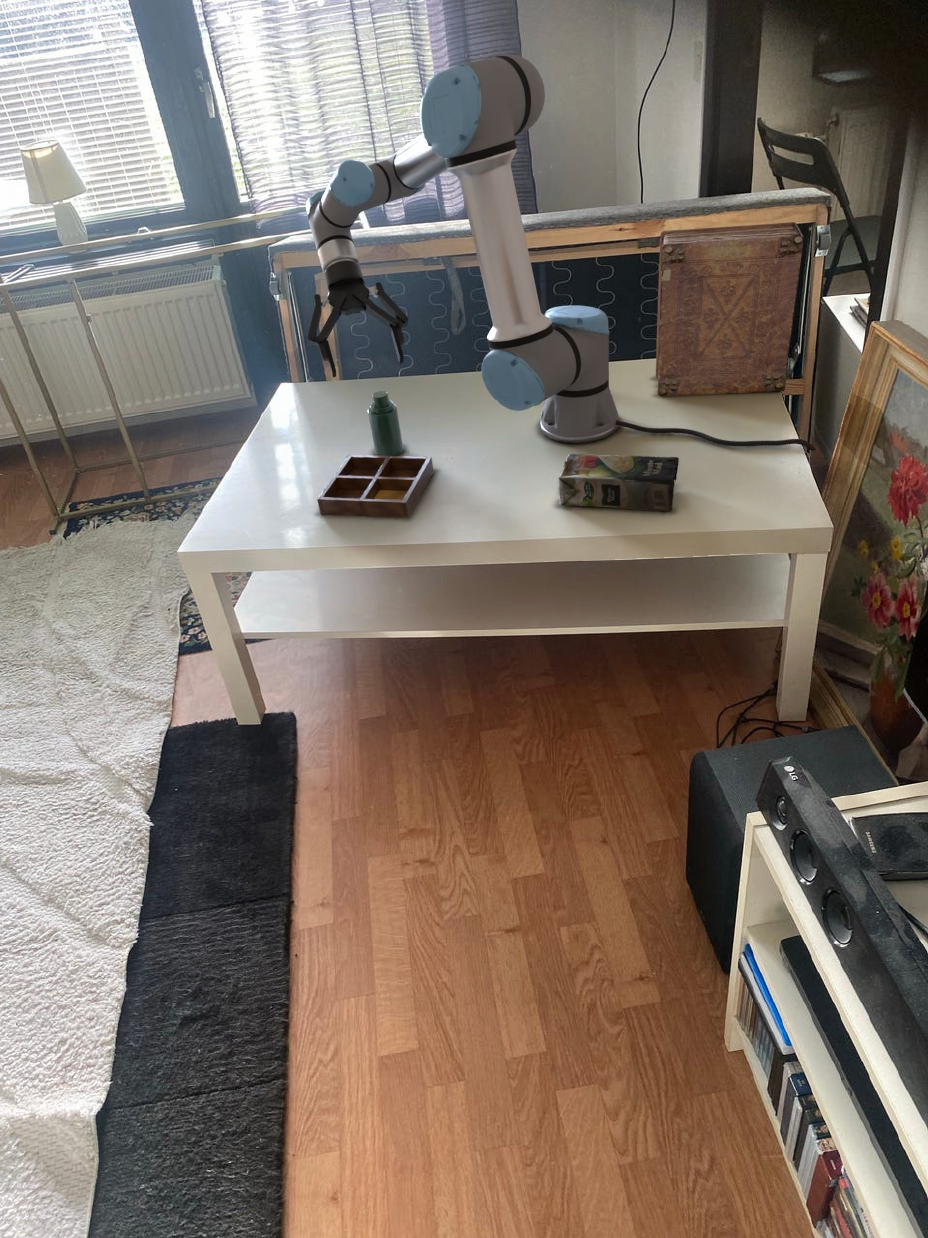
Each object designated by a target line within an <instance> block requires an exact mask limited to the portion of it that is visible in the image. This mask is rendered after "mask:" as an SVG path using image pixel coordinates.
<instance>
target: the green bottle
mask: <svg viewBox="0 0 928 1238" xmlns="http://www.w3.org/2000/svg"><path fill="white" fill-rule="evenodd" d="M371 397H372V402H371V403H370V405H369V408H368V409H367V414H368V420H369V426H370V430H371V436H372V442H373V448H374V453H375V456H400V455H401V454H402V453H403V452H404V444H403V439H402V438H403V437H402V432H401V425H400V424H401V423H400V419H399V411H398V406H397V405H396V404H395V403H394V402H393V401H392V400H391V399H389V392H387V391H385V390H378V391H375V392H373V393H372V394H371Z"/></svg>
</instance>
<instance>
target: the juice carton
mask: <svg viewBox="0 0 928 1238" xmlns="http://www.w3.org/2000/svg"><path fill="white" fill-rule="evenodd" d="M679 462H680V458H679V456H670V457H669V456H668V457H667V456H649V455H615V454H588V453H569V454H568V455H567V456H566V459H565V461H564V463H563V466H562V467H563V469H562V470H561V473H560V475H559V476H558V479H557V482H558V487H557V492H558V496H559V498H558V499H559V506H563V507H565V506H566V507H573V506H576V507H577V506H578V507H596V508H597V507H598V508H599V507H600V508H611V509H621V510H624V509H625V510H642V511H652V512H664V513H665V512H671V511H672V510H673V505H674V504H673V502H674V492H675V491H674V490H675V484H676V481H677V479H678V468H679Z"/></svg>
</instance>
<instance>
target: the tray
mask: <svg viewBox="0 0 928 1238" xmlns="http://www.w3.org/2000/svg"><path fill="white" fill-rule="evenodd" d="M433 474H434V464H433V458H432V456H405V455H403V456H401V455H397V456H377V455H367V454H364V455H361V454H348V455H347V456H346V458H345V460H344V461H343V462H342V463H341V465H340V466H339V468H338V469H337V471H336V472H335V474H333V476H332V478H331V479H330V480H329V482H328V484H327V485H326V486H325V487H324V489H323V491H322V492H321V493H320V494H319V496H318V497H317V499H316V501H317V505H318V509H319V513H320V515H328V516H329V515H331V516H351V517H352V516H354V517H356V516H357V517H376V518H377V517H378V518H379V517H380V518H401V519H402V518H404V519H408V518H410V516H411V514H412V513H413V510H414V508H415V507H416V505H417V503H418V501H419V499H420V497H421V496H422V494H423V492H424V490H425V488H426V487H427V485H428V483H429V482H430V480H431V478H432V476H433Z"/></svg>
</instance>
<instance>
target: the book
mask: <svg viewBox="0 0 928 1238" xmlns="http://www.w3.org/2000/svg"><path fill="white" fill-rule="evenodd" d="M804 237H805V236H804V235H803V233H802V231H801V229H800V227H799V225H798V224H797V223H796V222H795V221H794V222H793V221H792V222H779V223H778V222H775V223H765V224H764V223H761V224H760V223H759V224H745V225H744V224H743V225H729V226H713V227H702V228H700V227H699V228H686V229H685V228H684V229H670V230H669V229H668V230H662V231H660V237H659V238H660V239H659V262H658V263H659V266H658V267H659V268H658V290H657V291H658V292H657V293H658V294H657V319H656V321H657V323H656V327H657V328H656V351H655V352H656V353H655V354H656V355H655V379H656V380H657V396H659V397H674V396H698V395H721V394H722V395H723V394H724V395H725V394H744V393H745V394H746V393H769V392H773V393H774V392H785V390H786V386H787V376H788V370H789V369H788V368H789V360H790V352H791V344H792V343H791V342H792V334H793V327H794V319H795V312H796V302H797V295H798V294H797V293H798V287H799V279H800V269H801V261H802V254H803V246H804V245H803V244H804Z"/></svg>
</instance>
